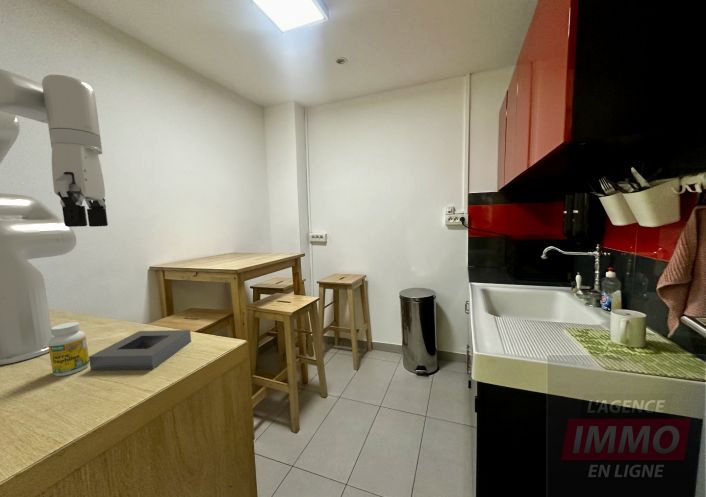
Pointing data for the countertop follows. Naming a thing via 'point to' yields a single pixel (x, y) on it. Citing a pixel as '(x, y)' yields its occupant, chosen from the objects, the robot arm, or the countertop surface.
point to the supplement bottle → (68, 349)
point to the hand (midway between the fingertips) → (88, 226)
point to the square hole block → (140, 350)
